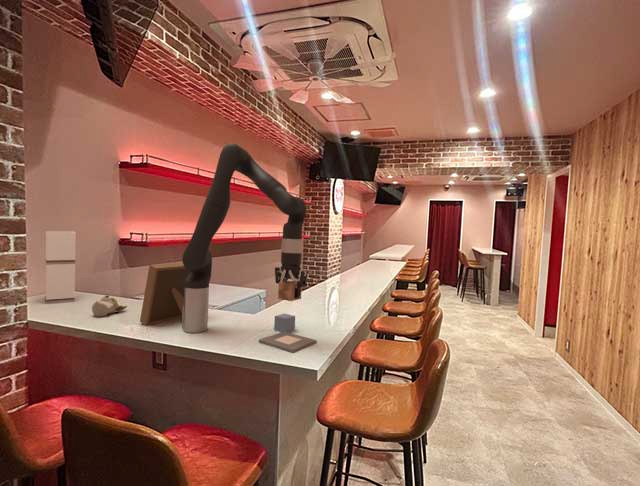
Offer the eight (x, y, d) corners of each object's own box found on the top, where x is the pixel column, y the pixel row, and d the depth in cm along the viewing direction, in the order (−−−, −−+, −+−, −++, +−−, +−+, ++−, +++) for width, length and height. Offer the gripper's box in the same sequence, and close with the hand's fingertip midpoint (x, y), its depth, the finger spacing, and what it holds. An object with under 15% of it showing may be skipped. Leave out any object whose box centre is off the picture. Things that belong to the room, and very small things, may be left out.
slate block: (274, 330, 142) (274, 316, 142) (283, 327, 147) (284, 313, 147) (285, 333, 139) (285, 318, 138) (294, 330, 144) (295, 316, 143)
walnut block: (278, 298, 126) (278, 282, 126) (288, 296, 131) (289, 280, 131) (290, 301, 123) (291, 284, 122) (301, 298, 128) (301, 282, 127)
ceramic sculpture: (84, 297, 148) (107, 292, 163) (83, 317, 147) (105, 311, 162) (108, 298, 147) (129, 294, 162) (107, 318, 147) (128, 312, 162)
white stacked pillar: (72, 297, 183) (73, 231, 181) (74, 301, 175) (75, 232, 173) (45, 299, 175) (46, 231, 174) (45, 304, 167) (46, 231, 166)
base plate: (258, 342, 126) (258, 339, 126) (283, 333, 138) (283, 331, 138) (292, 353, 117) (292, 349, 117) (316, 342, 129) (316, 339, 129)
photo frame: (139, 324, 142) (141, 263, 141) (184, 314, 161) (186, 260, 160) (162, 331, 134) (163, 267, 133) (206, 319, 153) (208, 263, 152)
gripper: (313, 252, 125) (311, 298, 126) (283, 249, 133) (281, 292, 134) (300, 253, 119) (298, 301, 120) (269, 250, 127) (268, 295, 128)
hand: (289, 296), depth 127 cm, fingers closed on walnut block, 6 cm apart
